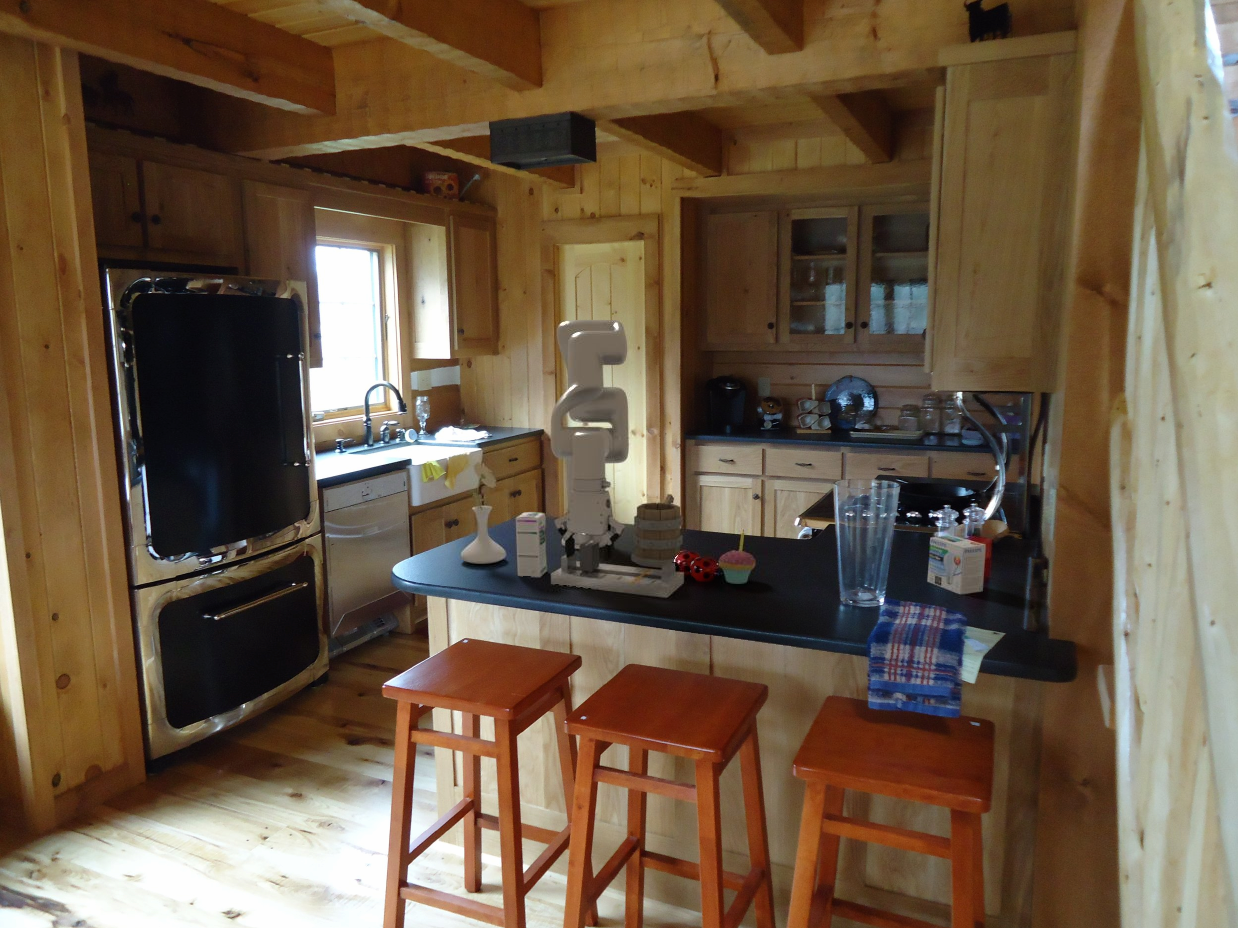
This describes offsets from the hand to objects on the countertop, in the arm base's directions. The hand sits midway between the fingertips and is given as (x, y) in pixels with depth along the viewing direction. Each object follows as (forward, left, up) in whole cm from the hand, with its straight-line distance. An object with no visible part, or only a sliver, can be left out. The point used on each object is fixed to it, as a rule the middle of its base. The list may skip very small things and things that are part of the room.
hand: (589, 558), depth 202 cm
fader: (-1, 0, -3) cm, 3 cm away
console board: (-1, +7, -6) cm, 9 cm away
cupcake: (-13, +32, -6) cm, 35 cm away
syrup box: (-1, -15, -6) cm, 16 cm away
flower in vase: (-7, -32, -6) cm, 33 cm away
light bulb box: (-27, +79, -6) cm, 83 cm away
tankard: (-27, +9, -6) cm, 29 cm away
